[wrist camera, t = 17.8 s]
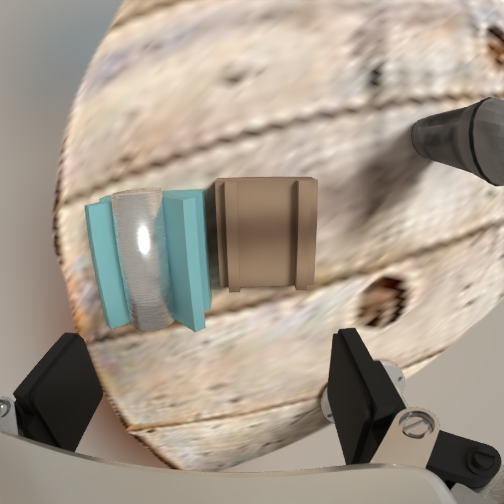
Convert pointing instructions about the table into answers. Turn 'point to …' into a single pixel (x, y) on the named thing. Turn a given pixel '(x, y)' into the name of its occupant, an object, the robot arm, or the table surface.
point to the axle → (143, 257)
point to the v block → (178, 249)
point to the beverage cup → (466, 139)
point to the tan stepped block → (266, 231)
